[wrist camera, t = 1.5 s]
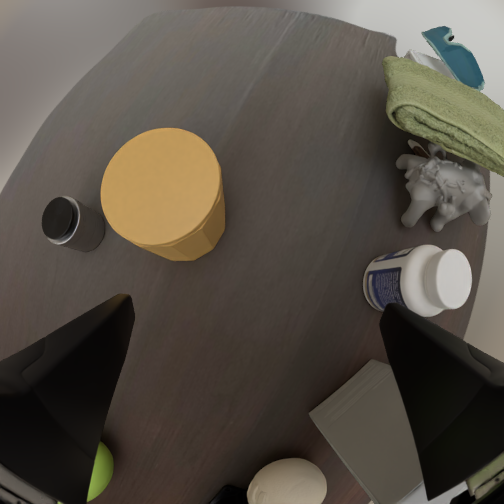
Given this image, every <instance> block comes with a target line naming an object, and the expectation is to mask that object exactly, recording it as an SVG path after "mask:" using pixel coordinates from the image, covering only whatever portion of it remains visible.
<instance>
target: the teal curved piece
mask: <svg viewBox="0 0 504 504" xmlns="http://www.w3.org/2000/svg"><path fill="white" fill-rule="evenodd" d="M422 35H423V37H424V38H425V39H426V40H427V42H428V43H429V45H430V46H431V47H432V48H433V50H434V51H435V52H436V54H437V55H438V56H439V57H440V58H441V60H442V61H443V62H444V64H445V65H446V66H447V68H448V69H449V71H450V72H451V73H452V75H453V76H454V78H455V79H456V80H457V81H458V82H459V81H460V82H462V83H463V84H464V85H467V86H469V87H471V88H472V87H475V88H474V89H476V90H477V91H480V90H483V88H484V83H485V82H484V79H483V76H482V73H481V71H480V68H479V66H478V64H477V62H476V59H475V58H474V56H473V54H472V53H471V51H470V50H468V49H467V48H466V47H465V46H463V45H462V44H459V43H454V42H450V41H452V40H453V38H454V36H451V35H452V31H451V28H448V27H446V26H442V27H437V28H433V29H430V30H428V31H425V32H422Z"/></svg>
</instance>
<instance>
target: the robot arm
mask: <svg viewBox="0 0 504 504" xmlns="http://www.w3.org/2000/svg"><path fill="white" fill-rule="evenodd" d="M134 321H135V312H134V308H133V303H132V298H131V296H130V295H129V294H117V295H116V296H114V297H112V298H110V299H109V300H107V301H105V302H103V303H102V304H100V305H98V306H96V307H95V308H93V309H91V310H89V311H88V312H86V313H84V314H83V315H81V316H79V317H77V318H76V319H74V320H72V321H71V322H69V323H67V324H66V325H64V326H62V327H60V328H59V329H57V330H55V331H54V332H52V333H50V334H49V335H47V336H46V338H45V337H44V338H42V339H40V340H39V341H37V342H36V343H34V344H32V345H30V346H29V347H27V348H25V349H23V350H21V351H19V352H18V353H16V354H14V355H12V356H10V357H8V358H6V359H4V360H2V361H0V504H58V502H60V503H62V504H86V503H87V498H88V492H89V487H90V482H91V477H92V473H93V468H94V464H95V459H96V455H97V450H98V446H99V443H100V439H101V435H102V431H103V428H104V424H105V420H106V417H107V414H108V410H109V407H110V404H111V400H112V397H113V394H114V391H115V388H116V385H117V382H118V379H119V376H120V373H121V370H122V367H123V364H124V361H125V358H126V354H127V350H128V346H129V342H130V337H131V333H132V329H133V325H134ZM379 325H380V330H381V334H382V337H383V341H384V345H385V349H386V353H387V356H388V360H389V363H390V366H391V369H392V371H393V374H394V377H395V380H396V383H397V386H398V389H399V392H400V395H401V398H402V401H403V404H404V407H405V411H406V414H407V417H408V421H409V424H410V428H411V431H412V435H413V438H414V442H415V446H416V450H417V454H418V458H419V463H420V467H421V471H422V476H423V481H424V486H425V491H426V496H427V500H428V501H430V500H432V499H434V498H436V497H438V496H440V495H442V494H444V493H446V492H448V491H449V490H451V489H453V488H455V487H456V486H458V485H460V484H461V483H463V482H466V485H467V488H468V489H467V490H465V491H463V492H462V493H460V494H459V495H457V496H455V497H454V498H452V499H451V501H450V504H504V363H503V362H501V361H499V360H497V359H495V358H493V357H491V356H490V355H488V354H486V353H484V352H482V351H481V350H479V349H477V348H475V347H474V346H472V345H470V344H469V343H466V342H465V341H463V340H462V339H460V338H458V337H457V336H455V335H453V334H452V333H450V332H448V331H446V330H445V329H443V328H441V327H439V326H438V325H436V324H434V323H433V322H431V321H429V320H427V319H426V318H424V317H422V316H420V315H418V314H417V313H415V312H413V311H411V310H410V309H408V308H406V307H404V306H402V305H401V304H399V303H388V304H386V306H385V308H384V311H383V314H382V316H381V319H380V323H379ZM228 489H229V490H228ZM209 504H249V503H248V498H247V491H246V490H243V489H239V488H236V487H233V486H230V485H226V486H224V487H223V488H222V489H221V490H220V492H219V493H218V494H217V495H216V496H215V497H214V498H213V499H212V500H211V502H210V503H209Z"/></svg>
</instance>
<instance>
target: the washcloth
mask: <svg viewBox="0 0 504 504" xmlns="http://www.w3.org/2000/svg"><path fill="white" fill-rule="evenodd" d="M382 65H383V68H384V75H385V78H386V79H385V82H386V84H387V87H388V88H389V92H388V97H387V104H386V113H387V115H388V118H389V119H390V121H391V122H392V123H393V124H394V125H396V126H397V127H398V128H400V129H402V130H404V131H406V132H410V133H412V134H413V135H416V136H420V137H423V138H426V139H428V140H430V141H431V142H433V143H435V144H437V145H440V146H441V147H442V149H443V150H445V151H447V152H450V153H453V154H455V155H457V156H460V157H462V158H465V159H468V160H470V161H472V162H474V163H476V164H478V165H480V166H482V167H484V168H487V169H489V170H490V171H492V172H496V173H497V174H499V175H501V176H503V177H504V110H503V109H502V108H501V107H500V106H499V105H497V104H495V103H494V102H493V101H492V100H491V99H489V98H488V97H487V96H486V95H484V94H483V93H481V92H480V91H477V90H476V89H474V88H471V87H469V86H467V85H464V84H463V83H462V82H460V81H459V82H458V81H457V80H456V79H452V78H449V77H448V76H445V75H443V74H441V73H440V72H437V71H436V70H433V69H431V68H430V67H428V66H425V65H422V64H419V63H418V62H414V61H412V60H410V59H406V58H403V57H401V58H399V57H392V56H389V57H386V58H384V59H383V62H382Z"/></svg>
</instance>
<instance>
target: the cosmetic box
mask: <svg viewBox="0 0 504 504" xmlns="http://www.w3.org/2000/svg"><path fill="white" fill-rule="evenodd" d="M309 416H310V417H311V419H312V420H313V422H314V423H315V425H316V426H317V428H318V429H319V430H320V432H321V433H322V435H323V436H324V437H325V439H326V440H327V441H328V443H329V444H330V446H331V447H332V448H333V450H334V451H335V452H336V454H337V455H338V456H339V458H340V459H341V460H342V462H343V463H344V464H345V466H346V467H347V468H348V470H349V471H350V472H351V474H352V475H353V476H354V477H355V479H356V480H357V481H358V483H359V484H360V485H361V487H362V488H363V489H364V490H365V492H366V493H367V494H368V496H369V497H370V498H371V500H372V501H373V502H374V504H450V501H451V499H452V498H454V497H455V496H457V495H459V494H460V493H462V492H463V491H465V490H467V489H468V488H467V485H466V482H463V483H461V484H460V485H458V486H456V487H455V488H453V489H451V490H449V491H448V492H446V493H444V494H442V495H440V496H438V497H436V498H434V499H432V500H430V501H428V500H427V496H426V491H425V486H424V481H423V476H422V471H421V467H420V463H419V458H418V454H417V450H416V446H415V442H414V438H413V435H412V431H411V428H410V424H409V421H408V417H407V414H406V411H405V407H404V404H403V401H402V398H401V395H400V392H399V389H398V386H397V383H396V380H395V377H394V374H393V371H392V369H391V366H390V365H388V364H385V363H383V362H380V361H377V360H374V359H371V360H370V361H369V362H368V363H367V364H366V365H365V366H364V367H362V368H361V369H360V370H359V371H358V372H357V373H356V374H355V375H354V376H353V377H352V378H351V379H349V380H348V381H347V382H346V383H345V384H344V385H343V386H341V387H340V388H339V389H338V390H337V391H336V392H334V393H333V394H332V395H331V396H329V397H328V398H327V399H326V400H325V401H323V402H322V403H321V404H320V405H318V406H317V407H316V408H315V409H313V410H312V411H311V412H309Z"/></svg>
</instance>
